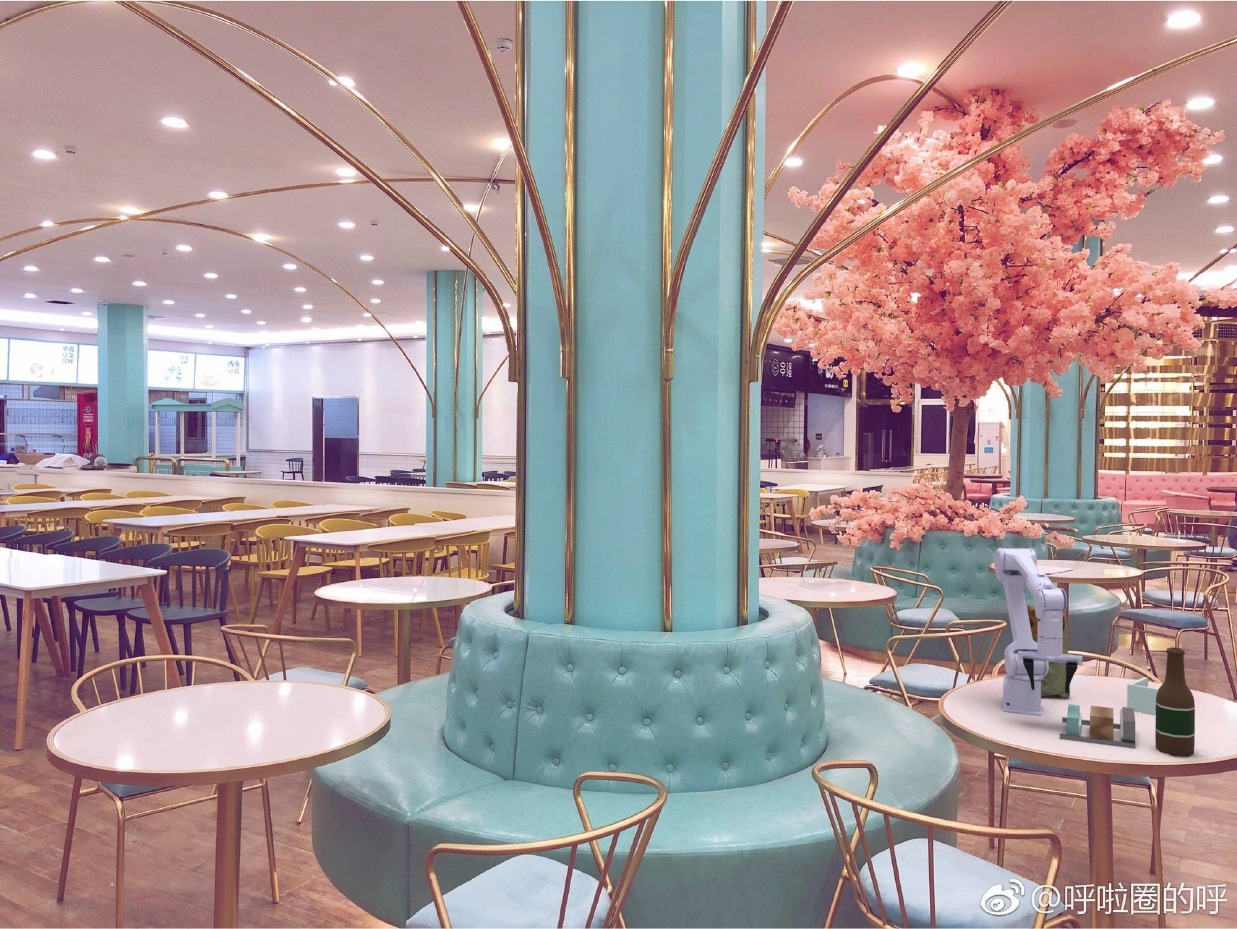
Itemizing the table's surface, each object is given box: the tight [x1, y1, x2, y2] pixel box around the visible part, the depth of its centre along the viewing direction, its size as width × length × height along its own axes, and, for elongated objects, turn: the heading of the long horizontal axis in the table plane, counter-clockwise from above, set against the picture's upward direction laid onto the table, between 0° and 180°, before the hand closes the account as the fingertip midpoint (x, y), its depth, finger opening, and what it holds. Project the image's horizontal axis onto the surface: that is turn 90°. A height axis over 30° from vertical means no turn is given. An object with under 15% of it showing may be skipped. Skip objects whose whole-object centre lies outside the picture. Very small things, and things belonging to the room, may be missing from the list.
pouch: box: [1027, 605, 1071, 698], centre depth 264 cm, size 11×12×25 cm
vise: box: [1059, 706, 1136, 750], centre depth 227 cm, size 16×16×6 cm
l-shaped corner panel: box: [1126, 676, 1159, 716], centre depth 248 cm, size 12×12×8 cm
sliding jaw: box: [1066, 703, 1083, 736], centre depth 229 cm, size 3×13×5 cm, turn 152°
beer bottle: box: [1154, 647, 1196, 758], centre depth 214 cm, size 8×8×24 cm
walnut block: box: [1089, 705, 1115, 740], centre depth 226 cm, size 5×10×6 cm, turn 152°
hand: (1049, 690), depth 232 cm, fingers open, 7 cm apart
